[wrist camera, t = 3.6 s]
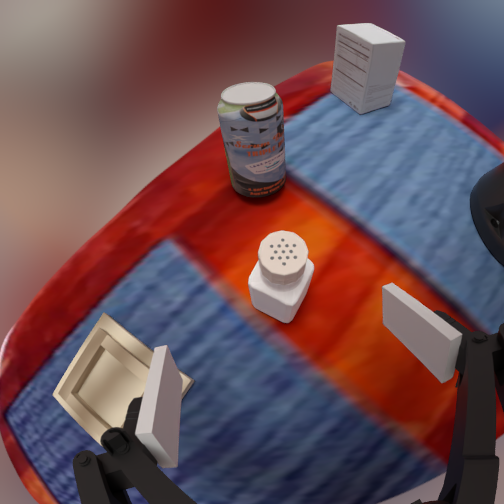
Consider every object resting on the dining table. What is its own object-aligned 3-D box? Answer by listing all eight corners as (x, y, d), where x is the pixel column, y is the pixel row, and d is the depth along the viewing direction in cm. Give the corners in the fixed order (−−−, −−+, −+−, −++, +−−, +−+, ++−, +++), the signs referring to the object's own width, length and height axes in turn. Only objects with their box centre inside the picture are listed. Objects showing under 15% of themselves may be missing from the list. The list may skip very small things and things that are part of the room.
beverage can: (245, 214, 32) (233, 126, 21) (220, 169, 35) (202, 86, 24) (296, 192, 33) (304, 104, 22) (266, 152, 36) (263, 69, 25)
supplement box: (360, 83, 43) (370, 22, 32) (390, 106, 40) (407, 41, 29) (328, 91, 42) (335, 23, 31) (359, 116, 39) (374, 43, 28)
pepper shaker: (250, 306, 27) (240, 263, 19) (270, 271, 29) (270, 216, 20) (288, 327, 26) (297, 292, 18) (308, 289, 28) (324, 240, 19)
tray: (194, 380, 24) (187, 379, 22) (135, 467, 20) (123, 472, 18) (109, 315, 27) (98, 308, 25) (59, 395, 23) (45, 393, 21)
